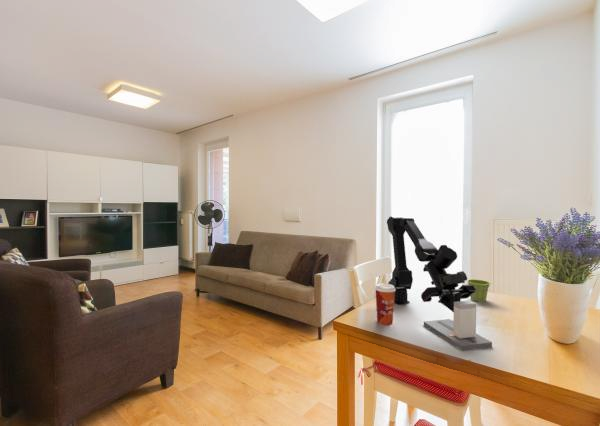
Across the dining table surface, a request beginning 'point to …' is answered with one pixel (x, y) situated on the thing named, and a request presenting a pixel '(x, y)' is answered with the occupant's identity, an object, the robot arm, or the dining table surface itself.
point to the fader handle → (464, 319)
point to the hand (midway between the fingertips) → (460, 316)
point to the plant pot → (479, 289)
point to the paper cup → (385, 303)
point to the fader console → (446, 331)
